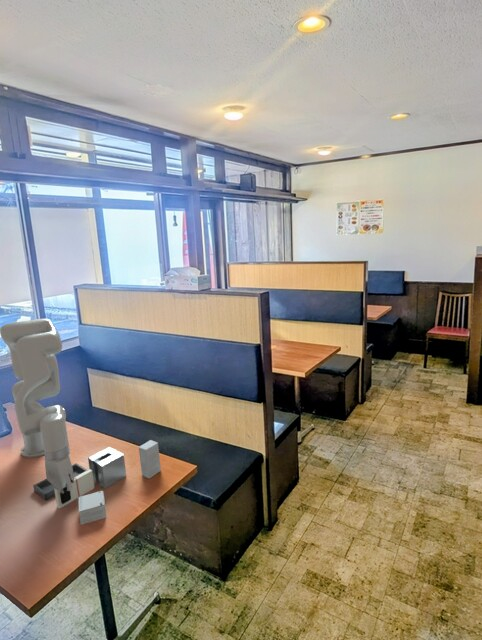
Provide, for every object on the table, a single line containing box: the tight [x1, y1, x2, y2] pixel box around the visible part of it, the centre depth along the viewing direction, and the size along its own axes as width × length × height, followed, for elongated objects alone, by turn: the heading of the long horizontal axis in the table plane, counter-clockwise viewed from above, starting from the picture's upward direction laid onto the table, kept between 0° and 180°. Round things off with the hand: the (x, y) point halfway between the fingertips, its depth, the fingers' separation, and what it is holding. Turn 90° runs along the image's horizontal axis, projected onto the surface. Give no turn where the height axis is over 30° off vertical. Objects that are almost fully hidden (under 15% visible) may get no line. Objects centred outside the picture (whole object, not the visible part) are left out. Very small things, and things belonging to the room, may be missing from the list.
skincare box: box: [138, 439, 162, 480], centre depth 146 cm, size 6×4×12 cm
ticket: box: [54, 469, 95, 509], centre depth 135 cm, size 2×13×7 cm, turn 142°
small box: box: [78, 490, 107, 526], centre depth 127 cm, size 8×8×5 cm
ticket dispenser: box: [87, 446, 127, 489], centre depth 144 cm, size 9×9×9 cm
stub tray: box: [33, 463, 88, 501], centre depth 143 cm, size 8×16×2 cm, turn 142°
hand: (64, 500), depth 132 cm, fingers closed on ticket, 1 cm apart
